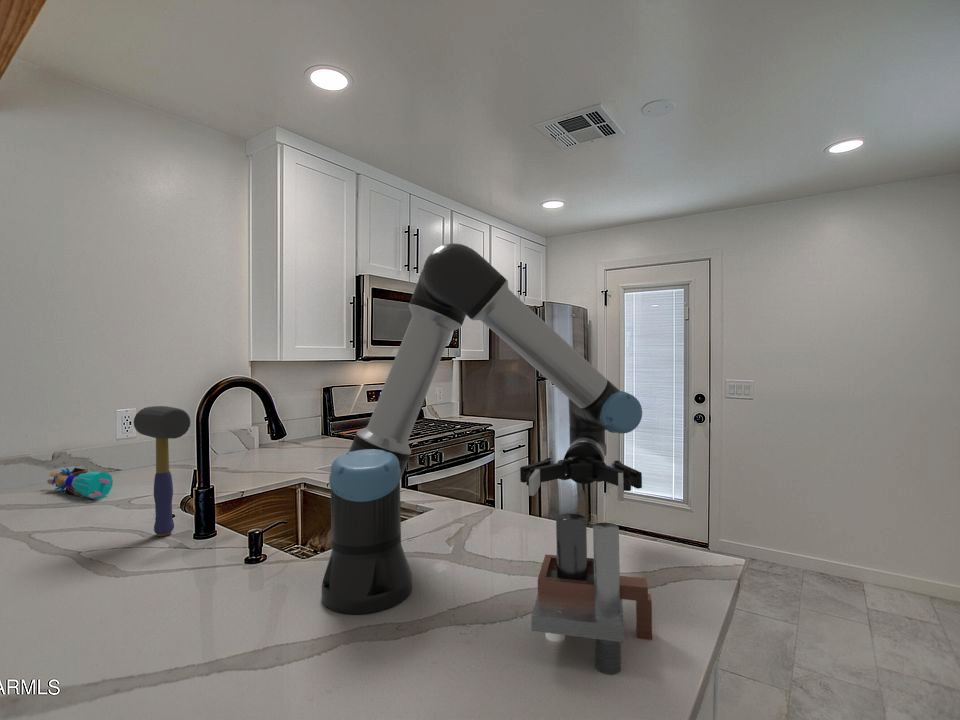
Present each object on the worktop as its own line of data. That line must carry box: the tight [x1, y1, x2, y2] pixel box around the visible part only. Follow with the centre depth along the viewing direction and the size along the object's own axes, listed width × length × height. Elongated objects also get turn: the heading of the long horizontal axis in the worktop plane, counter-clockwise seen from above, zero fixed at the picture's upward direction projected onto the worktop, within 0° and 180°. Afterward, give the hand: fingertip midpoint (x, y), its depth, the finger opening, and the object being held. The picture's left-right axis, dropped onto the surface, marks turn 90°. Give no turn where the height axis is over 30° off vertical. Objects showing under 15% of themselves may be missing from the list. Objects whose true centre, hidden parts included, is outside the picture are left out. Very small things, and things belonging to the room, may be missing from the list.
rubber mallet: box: [133, 405, 191, 537], centre depth 113 cm, size 12×8×30 cm, turn 60°
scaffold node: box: [531, 522, 653, 675], centre depth 68 cm, size 16×15×18 cm
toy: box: [46, 467, 114, 501], centre depth 150 cm, size 8×8×30 cm
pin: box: [555, 513, 588, 581], centre depth 72 cm, size 4×4×16 cm
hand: (575, 489), depth 75 cm, fingers open, 13 cm apart
